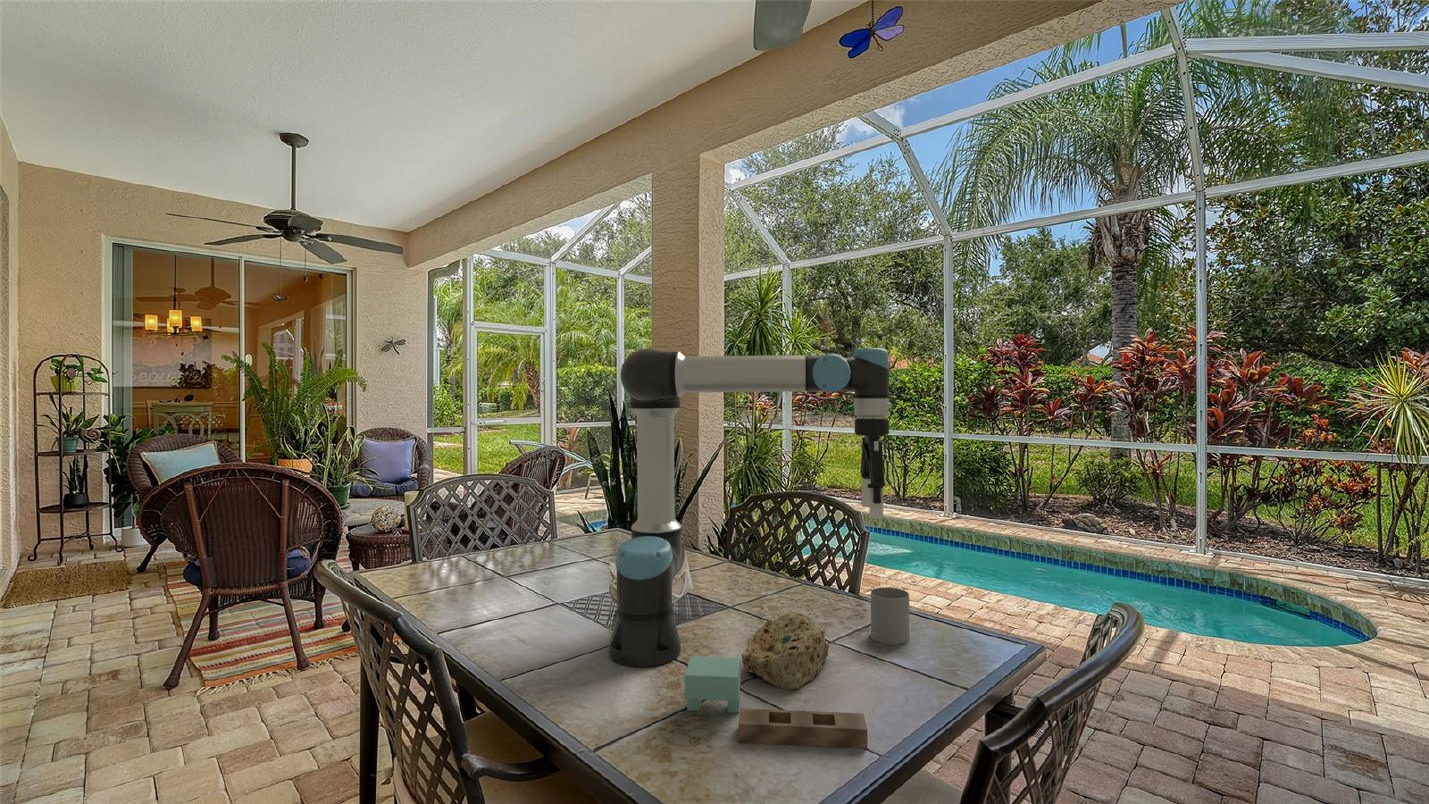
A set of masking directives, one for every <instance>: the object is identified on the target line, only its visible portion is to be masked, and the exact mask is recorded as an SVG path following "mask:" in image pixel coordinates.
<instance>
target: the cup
mask: <svg viewBox="0 0 1429 804" xmlns="http://www.w3.org/2000/svg"><path fill="white" fill-rule="evenodd" d="M870 639H872V640H874V641H875V642H878V643H880V644H885V645H903V644H907V643H908V642H910V593H909V592H908V591H906V590H904V589H901V588H897V587H890V586H889V587H887V586H885V587H882V586H881V587H875V588H873V589H871V590H870Z"/></svg>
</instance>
